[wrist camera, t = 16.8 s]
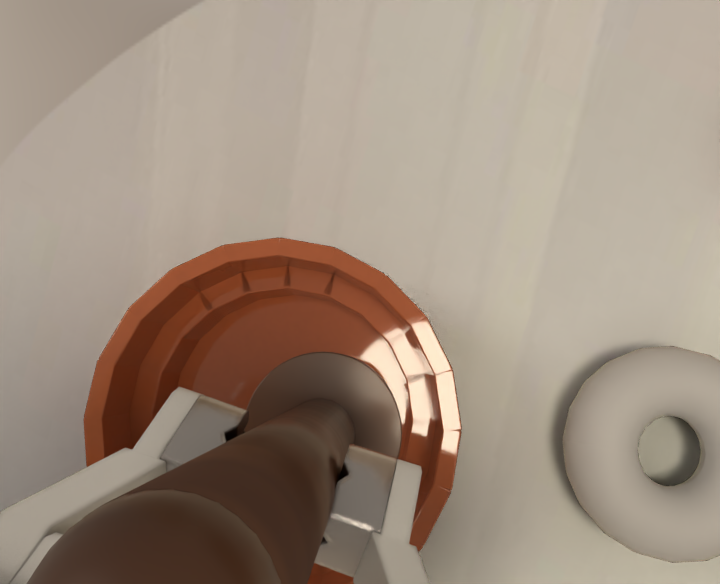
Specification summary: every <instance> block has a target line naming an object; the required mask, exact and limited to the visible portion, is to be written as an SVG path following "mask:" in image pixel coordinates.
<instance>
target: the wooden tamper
mask: <svg viewBox="0 0 720 584" xmlns="http://www.w3.org/2000/svg"><path fill="white" fill-rule="evenodd" d="M246 410H248V411H249V421H248V423H247V425H246V427H245V429H244V431H245V433H243V434H241V435H239V436H237V437H236V438H234V439H232V440H230V441H228V442H226V443H224V444H222V445H220V446H218V447H216V448H214V449H212V450H210V451H208V452H206V453H204V454H202V455H200V456H198V457H196V458H194V459H192V460H190V461H188V462H186V463H184V464H182V465H180V466H178V467H176V468H174V469H172V470H170V471H168V472H166V473H164V474H162V475H160V476H158V477H156V478H154V479H153V480H151V481H149V482H147V483H145V484H143V485H141V486H139V487H137V488H135V489H133V490H131V491H129V492H127V493H125V494H123V495H121V496H119V497H117V498H115V499H113V500H111V501H109V502H107V503H105V504H103V505H101V506H99V507H98V508H96V509H95V510H94V511H92V512H91V513H89V514H88V515H86V516H85V517H84V518H83V519H81V520H80V521H79V522H77V523H76V524H75V525H73V526H72V527H71V528H69V529H68V530H67V531H66V532H65V533H64V534H63V535H62V536H61V537H60V538H59V540H58V541H57V542H56V543H55V544H54V545H53V546H52V547H51V548H50V549H49V550H48V552H47V553H46V555H45V556H44V558H43V559H42V561H41V562H40V564H39V565H38V567H37V568H36V570H35V571H34V573H33V574H32V576H31V577H30V579H29V581H28V582H27V584H307V583H308V580H309V577H310V574H311V571H312V568H313V565H314V562H315V559H316V556H317V553H318V550H319V547H320V544H321V541H322V538H323V535H324V532H325V529H326V526H327V523H328V520H329V517H330V514H331V511H332V506H333V502H334V495H335V489H336V485H337V482H338V481H339V476H340V473H341V470H342V467H343V463H344V460H345V457H346V454H347V451H348V448H349V445H350V443H351V444H354V445H358V446H361V447H364V448H367V449H370V450H374V451H377V452H380V453H383V454H386V455H390V456H393V457H396V458H397V459H398V457H399V453H400V448H401V442H402V425H401V418H400V413H399V409H398V406H397V403H396V401H395V398H394V396H393V394H392V392H391V390H390V388H389V387H388V385H387V384H386V382H385V381H384V379H383V378H382V377H381V376H380V375H379V374H378V373H377V372H376V371H375V370H374V369H373V368H371V367H370V366H368V365H367V364H365V363H364V362H362V361H360V360H358V359H356V358H353V357H350V356H347V355H344V354H339V353H334V352H311V353H306V354H302V355H299V356H296V357H293V358H291V359H289V360H287V361H285V362H283V363H281V364H280V365H278V366H277V367H275V368H274V369H273V370H272V371H271V372H270V373H268V374H267V375H266V377H265V378H264V379H263V380H262V381H261V382H260V384H259V385H258V386H257V388H256V389H255V391H254V393H253V395H252V397H251V399H250V401H249V403H248V406H247V409H246Z"/></svg>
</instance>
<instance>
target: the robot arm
mask: <svg viewBox="0 0 720 584" xmlns="http://www.w3.org/2000/svg"><path fill="white" fill-rule="evenodd" d="M248 421H249V411H248V410H245V409H243V408H240V407H237V406H234V405H231V404H228V403H225V402H223V401H220V400H217V399H214V398H211V397H208V396H205V395H203V394H200V393H197V392H194V391H191V390H188V389H185V388H182V387H178V388H177V389H176V390H174V391H173V392H172V393H171V395H170V396H169V397H168V399H167V400H166V402H165V403H164V405H163V406H162V408H161V409H160V410H159V412H158V413H157V415H156V416H155V418H154V419H153V420H152V422H151V423H150V425H149V426H148V428H147V429H146V431H145V432H144V433H143V435H142V436H141V438H140V439H139V441H138V442H137V443H136V445H135V446H134V448H133V449H129V448H123V449H121V450H120V451H118V452H116V453H114V454H112V455H110V456H108V457H106V458H104V459H102V460H100V461H98V462H96V463H94V464H92V465H90V466H88V467H86V468H84V469H82V470H80V471H78V472H76V473H74V474H73V475H71V476H69V477H67V478H65V479H63V480H61V481H59V482H57V483H55V484H53V485H51V486H49V487H47V488H45V489H43V490H41V491H39V492H37V493H35V494H33V495H31V496H29V497H27V498H25V499H24V500H22V501H20V502H18V503H16V504H14V505H12V506H10V507H8V508H6V509H4V510H2V511H1V513H0V584H27V582H28V581H29V579H30V577H31V576H32V574H33V573H34V571H35V570H36V568H37V567H38V565H39V564H40V562H41V561H42V559H43V558H44V556H45V555H46V553H47V552H48V550H49V549H50V548H51V547H52V546H53V545H54V544H55V543H56V542H57V541H58V540H59V538H60V537H61V536H62V535H63V534H64V533H65V532H66V531H67V530H68V529H69V528H71V527H72V526H73V525H75V524H76V523H77V522H79V521H80V520H81V519H83V518H84V517H85V516H86V515H88V514H89V513H91V512H92V511H94V510H95V509H96V508H98V507H99V506H101V505H103V504H105V503H107V502H109V501H111V500H113V499H115V498H117V497H119V496H121V495H123V494H125V493H127V492H129V491H131V490H133V489H135V488H137V487H139V486H141V485H143V484H145V483H147V482H149V481H151V480H153V479H154V478H156V477H158V476H160V475H162V474H164V473H166V472H168V471H170V470H172V469H174V468H176V467H178V466H180V465H182V464H184V463H186V462H188V461H190V460H192V459H194V458H196V457H198V456H200V455H202V454H204V453H206V452H208V451H210V450H212V449H214V448H216V447H218V446H220V445H222V444H224V443H226V442H228V441H230V440H232V439H234V438H236V437H237V436H239V435H241V434H243V433H245V431H244V429H245V427H246V425H247V423H248ZM421 475H422V469H421V466H419V465H416V464H412V463H409V462H406V461H403V460H399V459H397V458H396V457H393V456H390V455H386V454H383V453H380V452H377V451H374V450H370V449H367V448H364V447H361V446H358V445H354V444H351V443H350V445H349V448H348V451H347V454H346V457H345V460H344V463H343V467H342V470H341V473H340V476H339V481H338V482H337V485H336V489H335V495H334V502H333V506H332V511H331V514H330V517H329V520H328V523H327V526H326V529H325V532H324V535H323V538H322V541H321V544H320V547H319V550H318V553H317V556H316V559H315V562H314V563H316V564H319V565H321V566H324V567H327V568H329V569H332V570H335V571H337V572H340V573H342V574H345V575H348V576H350V577H353V578H354V579H353V582H354V584H430V581H429V579H428V576H427V573H426V571H425V568H424V565H423V563H422V560H421V558H420V555H419V552H418V550H417V547H416V546H413V545H411V544H409V541H410V536H411V530H412V525H413V519H414V514H415V508H416V503H417V497H418V492H419V486H420V481H421Z"/></svg>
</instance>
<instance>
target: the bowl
mask: <svg viewBox="0 0 720 584" xmlns="http://www.w3.org/2000/svg"><path fill="white" fill-rule="evenodd" d="M128 309H129V310H127V311H126V313H125V315H124V317H123V318H122V320H121V322H120V323H119V325H118V327H117V328H116V330H115V332H114V333H113V335H112V337H111V338H110V340H109V342H108V344H107V345H106V347H105V349H104V350H103V352H102V354H101V355H100V357H99V360H98V361H97V364H96V368H95V373H94V377H93V381H92V385H91V389H90V393H89V397H88V402H87V406H86V410H85V414H84V434H85V449H86V464H87V467H88V466H90V465H92V464H94V463H96V462H98V461H100V460H102V459H104V458H106V457H108V456H110V455H112V454H114V453H116V452H118V451H120V450H121V449H123V448H129V449H133V448H134V446H135V445H136V443H137V442H138V441H139V439H140V438H141V436H142V435H143V433H144V432H145V431H146V429H147V428H148V426H149V425H150V423H151V422H152V420H153V419H154V418H155V416H156V415H157V413H158V412H159V410H160V409H161V408H162V406H163V405H164V403H165V402H166V400H167V399H168V397H169V396H170V395H171V393H172V392H173V391H174V390H176V389H177V388H178V387H182V388H185V389H188V390H191V391H194V392H197V393H200V394H203V395H205V396H208V397H211V398H214V399H217V400H220V401H223V402H225V403H228V404H231V405H234V406H237V407H240V408H243V409H245V410H246V409H247V406H248V403H249V401H250V399H251V397H252V395H253V393H254V391H255V389H256V388H257V386H258V385H259V384H260V382H261V381H262V380H263V379H264V378H265V377H266V375H267V374H268V373H270V372H271V371H272V370H273V369H274V368H275V367H277V366H278V365H280V364H281V363H283V362H285V361H287V360H289V359H291V358H293V357H296V356H299V355H302V354H306V353H311V352H334V353H339V354H344V355H347V356H350V357H353V358H356V359H358V360H360V361H362V362H364V363H365V364H367V365H368V366H370V367H371V368H373V369H374V370H375V371H376V372H377V373H378V374H379V375H380V376H381V377H382V378H383V379H384V381H385V382H386V384H387V385H388V387H389V388H390V390H391V392H392V394H393V396H394V398H395V401H396V403H397V406H398V409H399V413H400V418H401V425H402V442H401V448H400V453H399V457H398V459H399V460H403V461H406V462H409V463H412V464H416V465H419V466H421V469H422V475H421V481H420V486H419V492H418V497H417V503H416V508H415V514H414V519H413V525H412V530H411V536H410V541H409V544H411V545H413V546H416V547H417V550H418V552H419V551H420V550H421V549H422V548H423V546H424V545H425V543H426V541H427V539H428V537H429V535H430V533H431V531H432V529H433V527H434V525H435V523H436V521H437V519H438V517H439V515H440V513H441V511H442V509H443V507H444V506H445V504H446V502H447V500H448V498H449V496H450V494H451V490H452V487H453V481H454V475H455V469H456V463H457V457H458V450H459V444H460V438H461V430H462V427H461V420H460V413H459V407H458V400H457V393H456V387H455V380H454V373H453V370H452V367H451V365H450V363H449V361H448V359H447V357H446V355H445V352H444V350H443V348H442V346H441V344H440V342H439V340H438V338H437V336H436V334H435V332H434V330H433V328H432V326H431V324H430V322H429V320H428V318H427V317H426V316H425V314H424V313H423V312H422V311H421V310H420V309H419V308H418V307H417V306H416V305H415V304H414V303H413V302H412V301H411V300H410V299H409V298H408V297H407V296H406V295H405V293H404V292H403V291H402V290H401V289H400V288H399V287H398V286H397V285H396V284H395V283H394V282H393V281H392V280H391V279H390V278H389V277H388V276H385V274H384V273H382V272H381V271H379V270H377V269H375V268H373V267H371V266H369V265H367V264H366V263H364V262H362V261H360V260H358V259H356V258H354V257H352V256H351V255H349V254H347V253H345V252H343V251H341V250H339V249H337V248H336V249H335V247H331V246H325V245H319V244H314V243H308V242H303V241H297V240H291V239H286V238H271V239H264V240H256V241H249V242H242V243H234V244H227V245H224V246H223V245H222V246H220V247H217V248H215V249H213V250H211V251H209V252H207V253H205V254H202V255H200V256H198V257H196V258H194V259H192V260H190V261H187V262H185V263H183V264H181V265H179V266H177V267H175V268H173V269H171V270H170V271H169V272H167V273H166V274H165V275H164V276H163V277H162V278H161V279H160V280H159V281H158V282H156V283H155V284H154V285H153V286H152V287H151V288H150V289H149V290H148V291H147V292H145V293H144V294H143V295H142V296H141V297H140V298H139V299H138V300H137V301H136V302H135V303H133V304H132V305H131V306H130V307H129V308H128ZM353 579H354V578H353V577H350V576H348V575H345V574H342V573H340V572H337V571H335V570H332V569H329V568H327V567H324V566H321V565H319V564H316V563H314V565H313V568H312V571H311V574H310V577H309V580H308V583H307V584H354V582H353Z"/></svg>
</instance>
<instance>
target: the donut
mask: <svg viewBox="0 0 720 584" xmlns="http://www.w3.org/2000/svg"><path fill="white" fill-rule="evenodd" d="M663 416H675V417H679V418H681V419H683V420H685V421H686V422H687V423H688V424H689V425H690V426H691V427H692V428H693V429H694V430H695V432H696V434H697V437H698V439H699V442H700V450H701V454H700V459H699V465H698V466H697V468H696V470H695V472H694V474H693V475H692V476H691V477H690V478H689V479H688V480H687V481H685V482H683V483H681V484H678V485H676V486H663V485H659V484H657V483H655V482H654V481H652V480H651V479H650V478H649V477H648V476H647V475H646V474H645V472H644V470H643V468H642V466H641V464H640V462H639V455H638V445H639V440H640V437H641V435H642V433H643V431H644V430H645V428H646V427H647V426H648V425H649V424H650V423H651V422H653V421H654V420H655V419H658V418H660V417H663ZM562 440H563V450H564V460H565V469H566V473H567V476H568V478H569V480H570V483H571V485H572V487H573V490H574V492H575V494H576V497H577V499H578V501H579V503H580V505H581V506H582V507H583V508H584V510H585V511H586V512H587V513H588V514H589V515H590V517H591V518H592V519H593V520H594V521H595V523H596V524H597V525H598V526H599V527H600V529H601V530H602V531H603V532H604V533H605V534H607V535H608V536H610V537H612V538H613V539H615V540H616V541H618V542H619V543H621V544H622V545H624V546H626V547H627V548H629V549H630V550H632V551H633V552H636V553H639V554H642V555H646V556H650V557H653V558H657V559H661V560H664V561H668V562H672V563H676V562H695V561H708V560H710V559H712V558H715V557H717V556H720V361H719V360H717V359H716V358H714V357H712V356H710V355H707V354H703V353H699V352H695V351H691V350H687V349H683V348H679V347H675V346H668V347H651V348H640V349H637V350H635V351H632V352H630V353H627V354H625V355H622V356H620V357H617V358H615V359H612V360H610V361H608V362H607V363H606V364H604V365H603V366H602V367H601V368H600V369H599V370H597V371H596V372H595V373H594V374H593V375H592V376H590V377H589V378H588V379H587V380H586V381H585V382H584V383H583V385H582V387H581V388H580V390H579V392H578V394H577V395H576V397H575V399H574V400H573V402H572V404H571V405H570V407H569V410H568V415H567V420H566V424H565V429H564V434H563V439H562Z"/></svg>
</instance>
